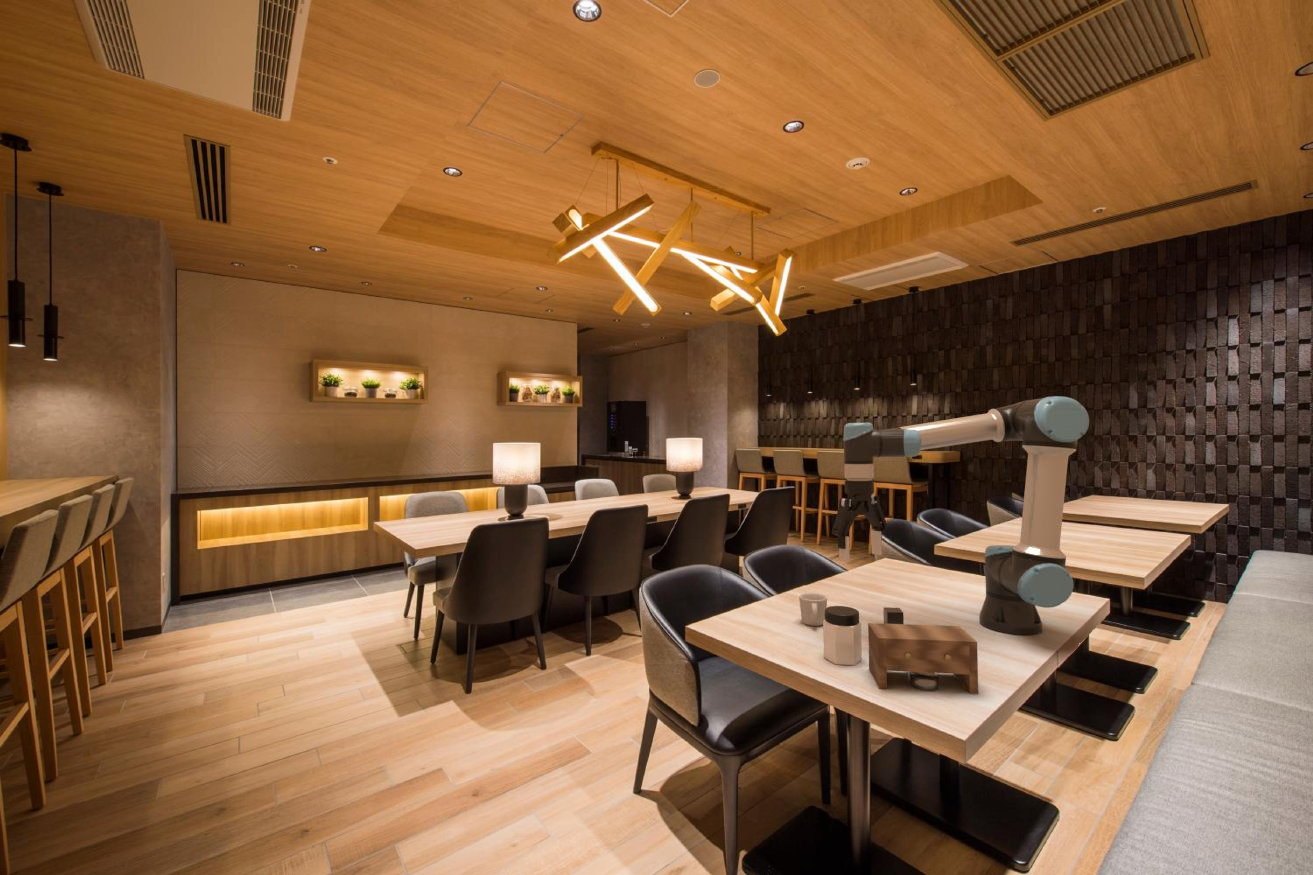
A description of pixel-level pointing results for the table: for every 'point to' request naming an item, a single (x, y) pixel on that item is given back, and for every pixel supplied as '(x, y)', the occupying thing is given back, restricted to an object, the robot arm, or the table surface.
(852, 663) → the jar
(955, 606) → the table surface
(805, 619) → the cup
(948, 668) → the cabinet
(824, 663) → the table surface
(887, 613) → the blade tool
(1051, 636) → the table surface
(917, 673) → the disc
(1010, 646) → the table surface
